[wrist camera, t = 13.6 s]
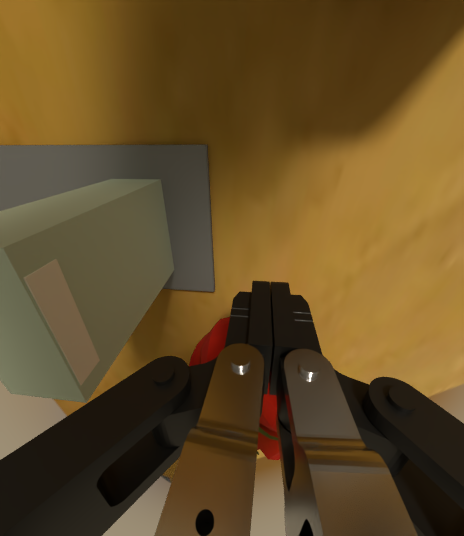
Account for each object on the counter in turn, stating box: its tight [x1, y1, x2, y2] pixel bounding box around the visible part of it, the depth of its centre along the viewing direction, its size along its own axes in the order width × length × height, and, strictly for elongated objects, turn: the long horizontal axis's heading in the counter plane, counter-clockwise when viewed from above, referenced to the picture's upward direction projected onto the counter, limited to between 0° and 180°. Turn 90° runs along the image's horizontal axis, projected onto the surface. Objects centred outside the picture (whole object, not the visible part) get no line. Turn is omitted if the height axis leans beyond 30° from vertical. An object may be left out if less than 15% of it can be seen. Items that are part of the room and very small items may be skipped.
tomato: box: [189, 317, 280, 460], centre depth 19 cm, size 11×11×9 cm
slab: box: [0, 179, 174, 403], centre depth 13 cm, size 7×4×11 cm, turn 0°
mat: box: [0, 145, 215, 292], centre depth 18 cm, size 11×20×1 cm, turn 90°
